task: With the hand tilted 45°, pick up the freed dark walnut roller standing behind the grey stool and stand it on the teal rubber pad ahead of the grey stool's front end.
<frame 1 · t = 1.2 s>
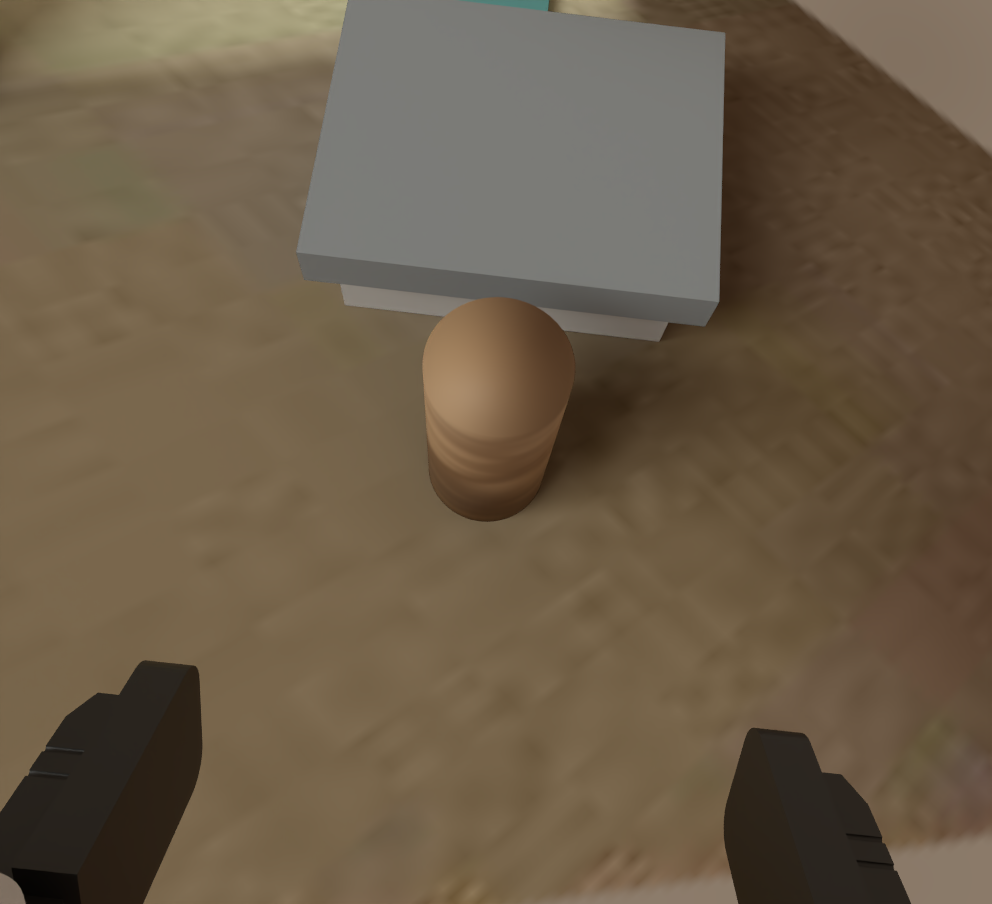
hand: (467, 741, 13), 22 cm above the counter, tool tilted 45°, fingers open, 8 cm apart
grey stool: (513, 221, 42), on the counter
walnut roller: (486, 465, 38), on the counter
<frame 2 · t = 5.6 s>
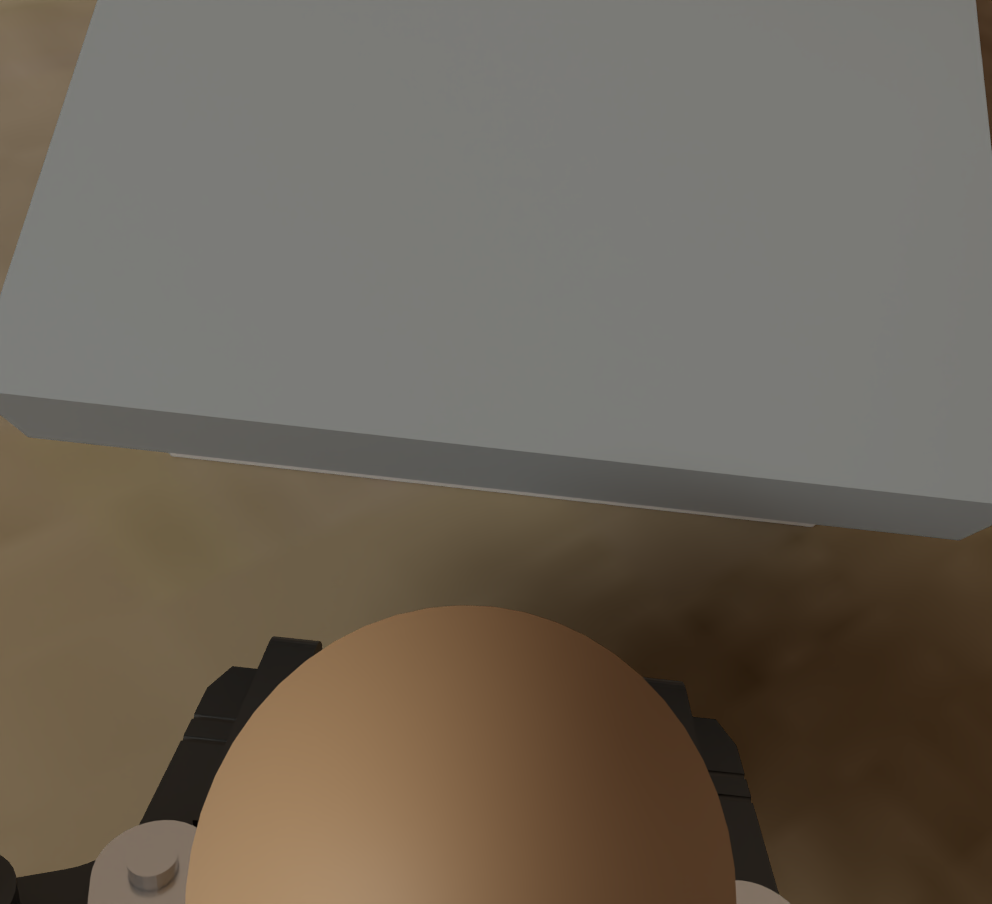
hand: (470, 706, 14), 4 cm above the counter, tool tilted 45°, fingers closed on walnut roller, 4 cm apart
grey stool: (515, 279, 21), on the counter
walnut roller: (455, 822, 17), on the counter, touching gripper
when the fingers open (6 cm above the counter, at t = 11.7 s): walnut roller drops 1 cm, resting on teal pad.
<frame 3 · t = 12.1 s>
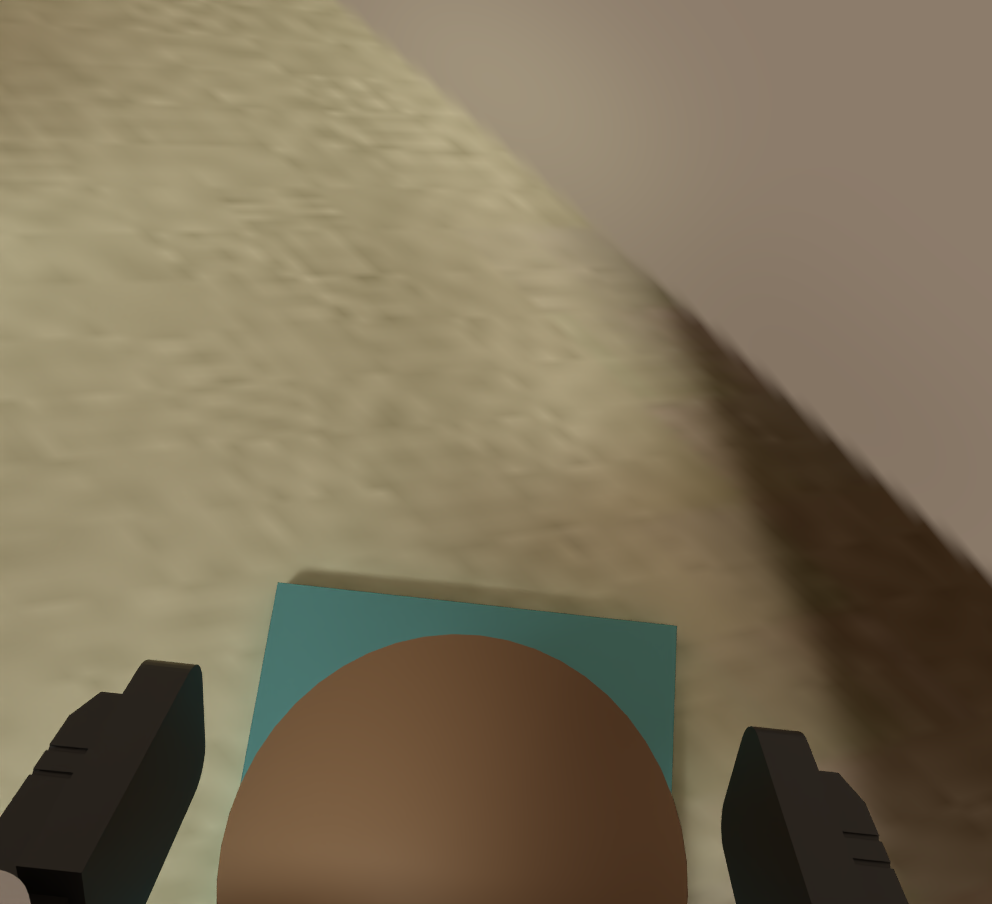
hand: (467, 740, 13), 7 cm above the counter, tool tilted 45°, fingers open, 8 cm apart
teal pad: (454, 818, 19), on the counter
walnut roller: (449, 823, 19), point 1 cm above the counter, touching teal pad
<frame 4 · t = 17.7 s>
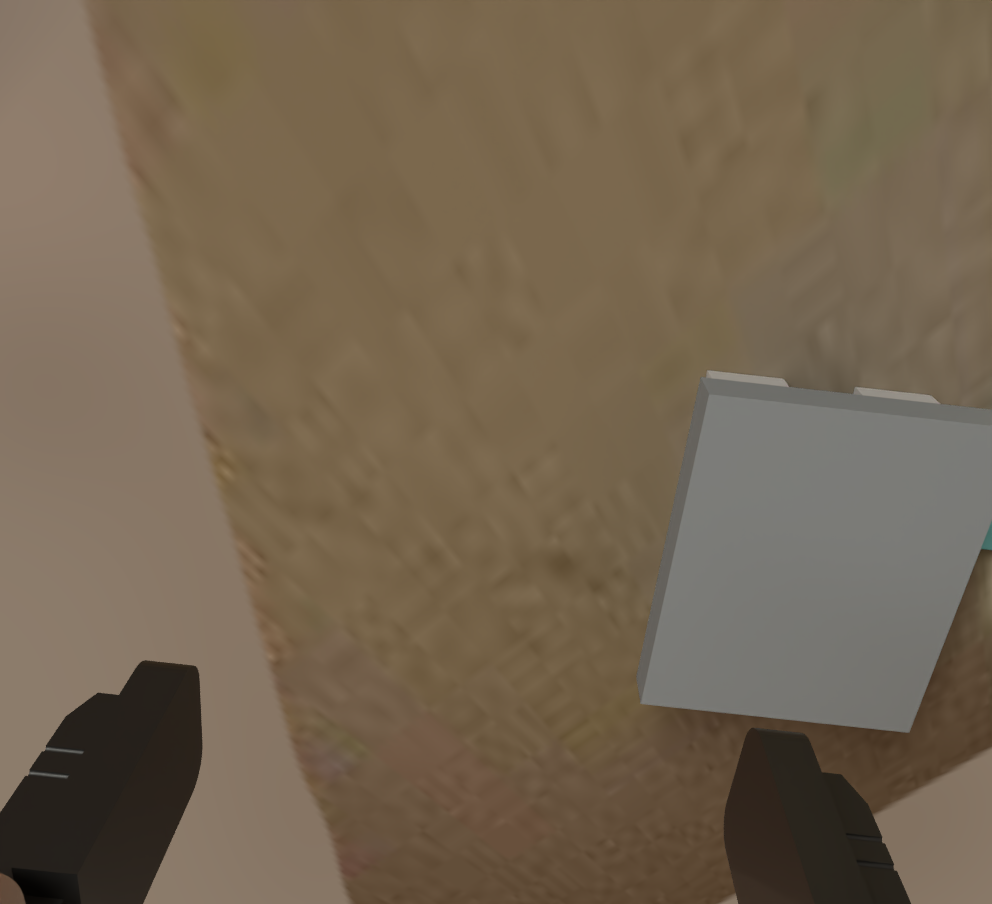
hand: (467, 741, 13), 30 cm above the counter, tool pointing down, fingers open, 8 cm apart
grey stool: (783, 512, 45), on the counter
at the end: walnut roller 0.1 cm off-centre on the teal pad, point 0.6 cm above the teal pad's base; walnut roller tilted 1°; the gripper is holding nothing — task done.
